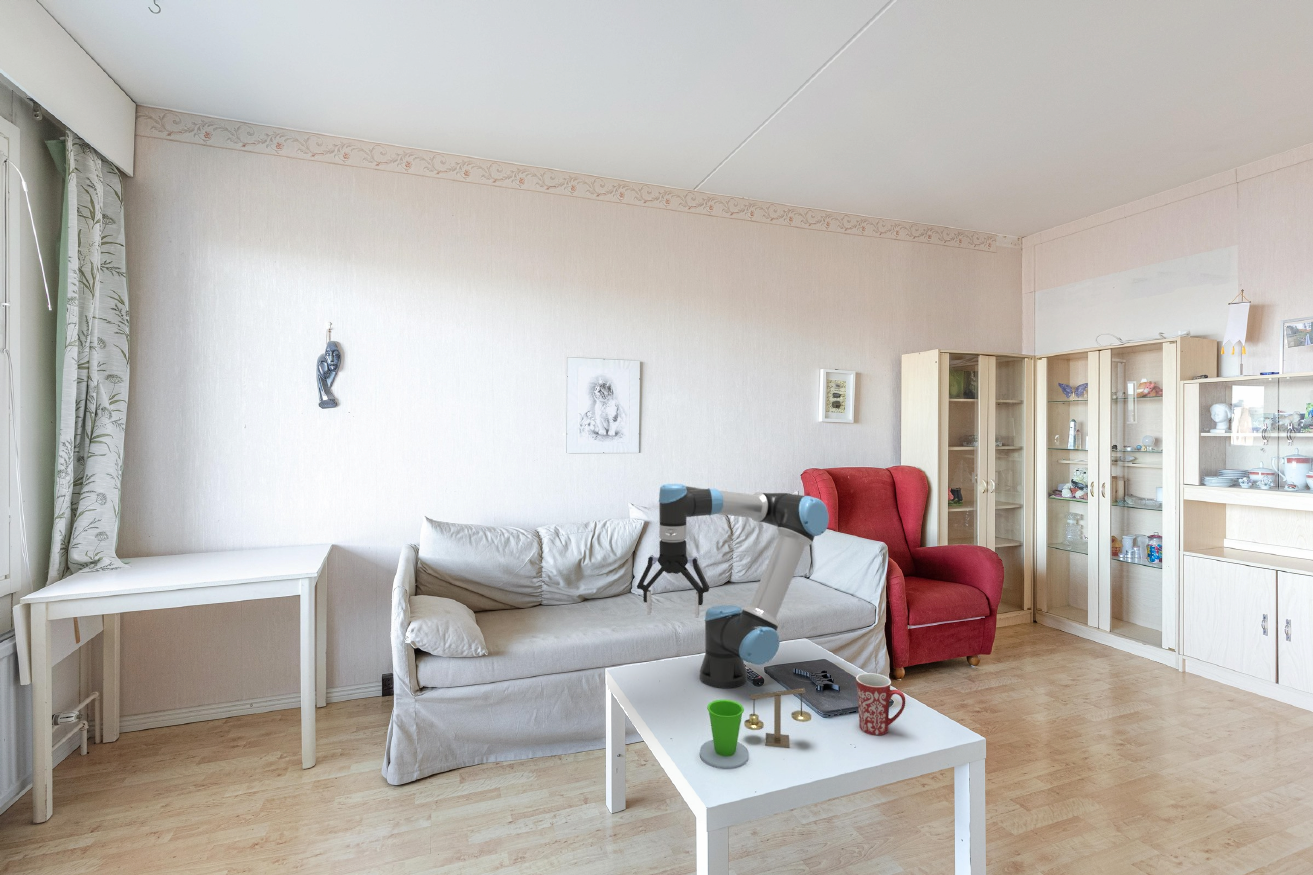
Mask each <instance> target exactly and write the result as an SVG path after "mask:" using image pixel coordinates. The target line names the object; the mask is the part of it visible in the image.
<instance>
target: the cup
mask: <svg viewBox="0 0 1313 875" xmlns="http://www.w3.org/2000/svg"><path fill="white" fill-rule="evenodd" d="M706 708H707V711H708V715H709V720H710V727H711V735H712V740H713V742H714V749H715V751H716V753H717V754H718V755H720V756H732V755H734V753H735V751H736V747H737V742H739V740H738V739H739V734H740V729H741V724H742V715H743V713H744V711H745V708H744V706H743V705H742V704H741V703H739V702H738V701H735V700H731V699H716V700H712V701H711V702H709V703H708V705H707V706H706Z"/></svg>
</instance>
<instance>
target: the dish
mask: <svg viewBox="0 0 1313 875" xmlns="http://www.w3.org/2000/svg"><path fill="white" fill-rule="evenodd" d="M749 755H750V753H749V749H748V747H746V745H744V744H742V743H741V742H739V741H737V747H736V751H735V753H734V755H732V756H720V755H718V754H717V753H716V751H715V749H714V742H713V739H711V740H708V741H705V742H704V743H703V744H702V745H701V746H700V749H699V757H700V758H701V761H702V762H704V763H705V764H707V765H708V766H711V767H712V768H716V769H722V770H724V769H725V770H730V769H731V770H732V769H736V768H739V767H742V766H744V765H746V763H747V762H748V761H749Z"/></svg>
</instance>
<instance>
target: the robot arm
mask: <svg viewBox="0 0 1313 875" xmlns="http://www.w3.org/2000/svg"><path fill="white" fill-rule="evenodd" d="M658 494H659V495H658V503H659V505H658V507H659V510H658V511H659V539H660V540H659V556H654V555H653V554H650V556H648V558H647V565H646V567H645V569H644V571H643V573H642V575H641V577H640V579H639V581H638V584H637V585H636V589H638V590H641V591H642V593H643V594H642V595H643V603H646V615H647V616H651V613H652V589H650V588H651V586H653V585H654V583H655V582H656V581H657V580H658V579H659V578H660V576H661V575H662V574H664V572H665V573H666V574H677V575H679V573H680V574H681V575H682V576H684V578H686V580H687V581H688V582H689V583H690V585H691V586H692V587H693V589H694V590H695V596H694V597H695V598H694V599H695V600H694V601H695V603H694V605H695V610H694V611H695V613H694V614H695V616H694V618H695V619H698V618H699V616H700V606H702V605H703V603H704V594H705V593H708V592H710V590H711V589H710V588H711V587H710V585H709V583H708V581H707V578H706V577H705V575H704V572H703V571H702V569H701V567H700V565H699V558H698V557H697V556H694V557H689V558H688V556H687V541H686V539H687V518H693V517H702V516H703V517H704V516H709V517H710V516H713V515H723V516H732V517H740V518H749V519H752V520H753V522H758V523H764V524H768V525H771V526H774V527H776V530H777V533H778V538H777V540H776V543H775V545H774V547H773V550H772V552H771V555H770V557H769V559H768V562H767V564H766V567H765V569H764V571H763V573H762V576H761V578H760V581H759V583H758V585H757V588H756V590H755V593H754V595H753V597H752V600H751V603H750V604H749V606H747V607H744V608H742V607H740V606H739V605H732V604H729V605H727V604H726V605H725V604H722V605H715V606H711V607H709V608H707V610H706V611H705V615H704V616H705V617H704V618H705V619H704V623H705V624H704V628H705V630H704V632H705V634H704V635H705V636H704V637H705V639H704V640H705V642H704V643H705V645H704V647H705V653H704V657H703V660H702V662H701V666H700V670H699V679H700V681H701V682H702V683H704V684H706V685H708V686H710V687H714V688H723V689H729V688H731V689H732V688H737V687H740V686H743V685H744V684H746V682H747V681H748V671H747V668H746V667H747V666H746V664H745V662H746V663H748V664H749V663H750V664H752V665H755V666H762V665H764V664H766V663H769V662H770V661H771V660H772V659H773V658H774V657H775V656H776V654H777V652H778V651H779V647H780V636H779V634H778V632H777V631H778V628H779V624H778V620H777V617H778V614H779V612H780V609H781V607H782V604H783V602H784V599H785V598H786V594H787V592H788V590H789V587H790V585H791V583H792V580H793V577H794V575H795V572H796V571H797V568H798V565H799V563H800V561H801V558H802V555H803V553H804V550H805V548H806V547H807V546H810V545H812V544H813V542H814V540H815V537H818V536H821V535H822V534H824V533H825V532H826V530H827V529H828V526H829V523H830V522H829V521H830V514H829V512H828V507H827V505H826V504H825V502H823V501H822V500H821V499H819V498H818V497H813V496H810V495H803V494H802V495H800V494H795V493H788V492H786V493H785V492H772V493H771V492H767V493H766V492H760V491H759V492H754V493H753V494H749V493H741V492H734V491H728V490H719V489H717V488H701V487H696V486H694V487H693V486H687V485H685V484H683V483H665V484H662V485H661V486H660V488H659V493H658ZM656 563H658V565H659V566H660V568H659V569H658V571H656V572H655V574H654V575H653V576H652V577H651V578H650V580H649V581H648V582H647V583H646V584H644V583H645V581H646V579H647V578H648V575H649V573H650V572H651V569H652V567H653V566H654V565H655V564H656ZM688 563H689V564H690V566H692V567H693V570H694V572H695V574H696V576H697V579H698V580H699V582H700V583H699V582H698V581H697V580H696V579H695V577H694V575H692V573H691V572H690V571H689V569H688V568H687V567H686V566H687V565H688Z"/></svg>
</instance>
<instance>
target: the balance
mask: <svg viewBox="0 0 1313 875" xmlns="http://www.w3.org/2000/svg"><path fill="white" fill-rule="evenodd" d="M805 693H806V688H805V687H801V688H795V689H793V688H792V689H787V690H786V689H785V690H778V691H771V692H762V693H755V694H750V700H753V707H752V708H753V712H752V713H750V714H749V718H748V719H746V720H744V724H743V725H744V727H745V728H746V729H748V730H752V731H759V730H760V731H761V730H762V729H764V725H765V724H764V722H763V721H762V720H760V718H759V717H760V716H759V715H758V714H757V713H755V712H756V710H755V706H756V702H755V700H758V699H759V700H760V699H766V698H774V700H773V701H774V704H773V706H774V709H773V710H774V715H773V716H774V722H773V723H774V725H773V726H774V729H773V732H774V733H770V732H765V746H766V747H774V748H775V747H776V748H786V749H790V735H789V734H783V733H781V731H782V730H781V729H782V726H781V723H782V722H781V718H782V712H781V711H782V708H781V705H782V703H781V702H782V699H781V698H782V696H792V695H798V694H800V710H794V711H793V712H791V718H792V719H793V720H795V721H796V722H802V723H805V722H809V721H811V720H812V714H811V713H810V712H807V711H805V710H803V694H805Z"/></svg>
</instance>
